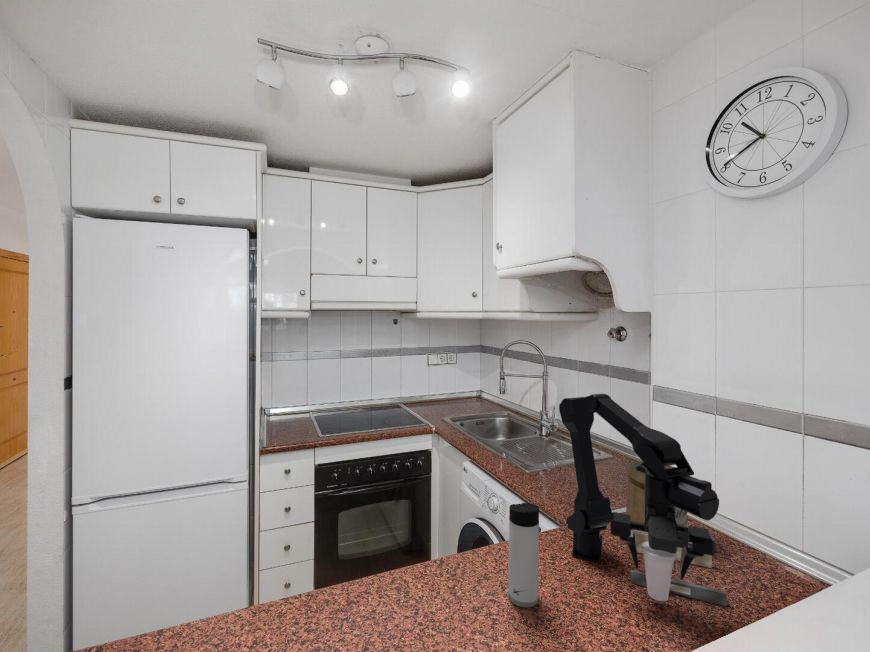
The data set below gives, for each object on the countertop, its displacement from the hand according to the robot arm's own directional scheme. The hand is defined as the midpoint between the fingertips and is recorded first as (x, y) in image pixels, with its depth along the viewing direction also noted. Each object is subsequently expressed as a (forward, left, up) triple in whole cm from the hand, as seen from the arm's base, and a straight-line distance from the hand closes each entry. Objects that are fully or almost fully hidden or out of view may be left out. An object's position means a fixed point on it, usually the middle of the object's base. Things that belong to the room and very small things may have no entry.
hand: (658, 572), depth 85 cm
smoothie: (0, 0, -5) cm, 5 cm away
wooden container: (+2, +32, -7) cm, 33 cm away
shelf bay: (+4, +13, -7) cm, 15 cm away
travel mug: (-26, -10, -7) cm, 29 cm away
